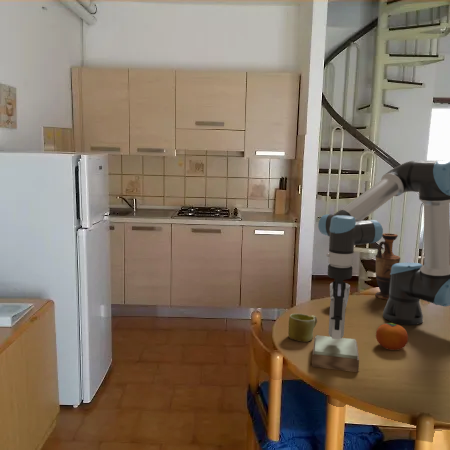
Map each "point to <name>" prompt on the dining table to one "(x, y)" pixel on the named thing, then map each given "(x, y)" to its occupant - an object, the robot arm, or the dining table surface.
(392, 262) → the vase
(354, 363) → the podium
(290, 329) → the mug
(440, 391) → the dining table surface
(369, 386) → the dining table surface
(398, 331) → the fruit
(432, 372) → the dining table surface
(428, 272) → the robot arm
